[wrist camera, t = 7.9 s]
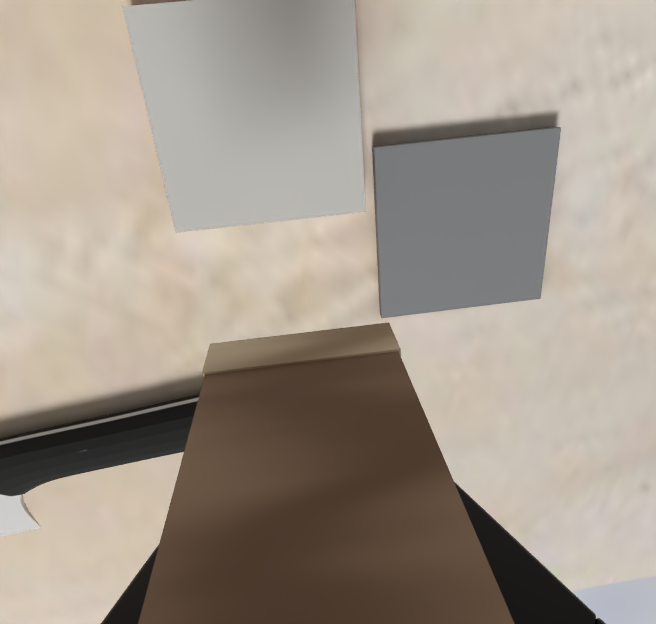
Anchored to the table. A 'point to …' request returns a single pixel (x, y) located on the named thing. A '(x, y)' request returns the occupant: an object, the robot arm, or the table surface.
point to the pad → (463, 220)
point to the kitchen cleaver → (86, 452)
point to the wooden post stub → (316, 495)
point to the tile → (252, 108)
